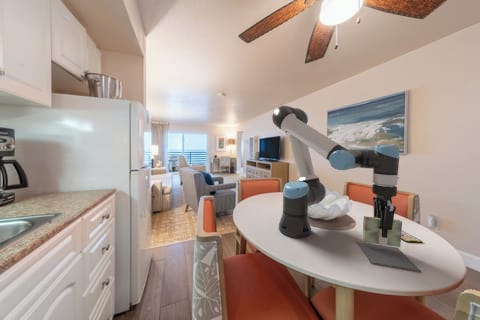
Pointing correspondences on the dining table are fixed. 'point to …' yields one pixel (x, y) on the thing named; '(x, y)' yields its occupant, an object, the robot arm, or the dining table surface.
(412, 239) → the smartphone
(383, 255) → the mat
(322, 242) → the dining table surface
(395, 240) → the tile
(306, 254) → the dining table surface
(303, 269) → the dining table surface
